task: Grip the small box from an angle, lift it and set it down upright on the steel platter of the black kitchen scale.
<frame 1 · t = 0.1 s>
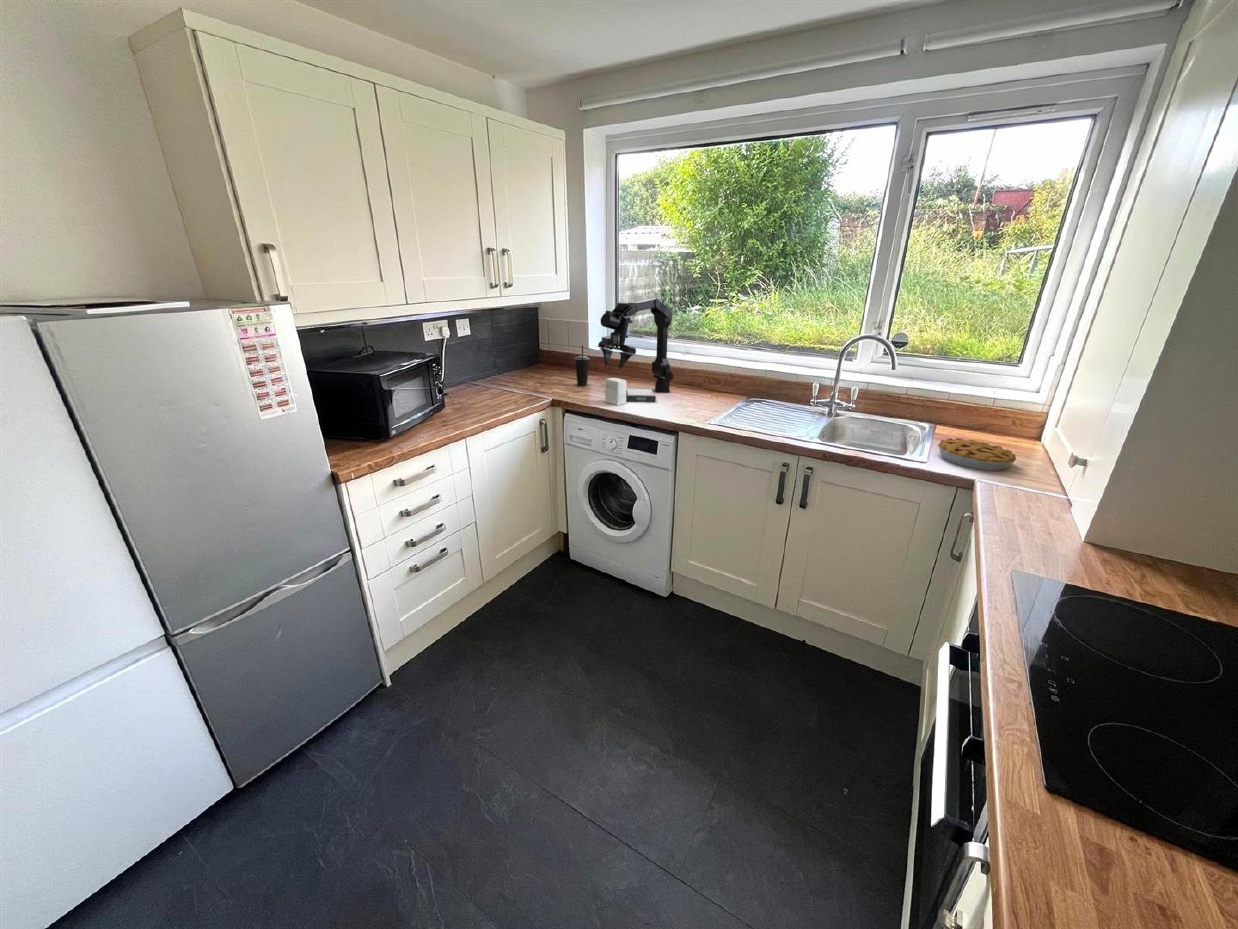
hand: (612, 367, 220), 15 cm above the countertop, tool pointing down, fingers open, 9 cm apart
kitchen scale: (639, 398, 233), on the countertop
drinking cup: (582, 385, 255), on the countertop
pie: (972, 460, 167), on the countertop
small box: (615, 403, 223), on the countertop
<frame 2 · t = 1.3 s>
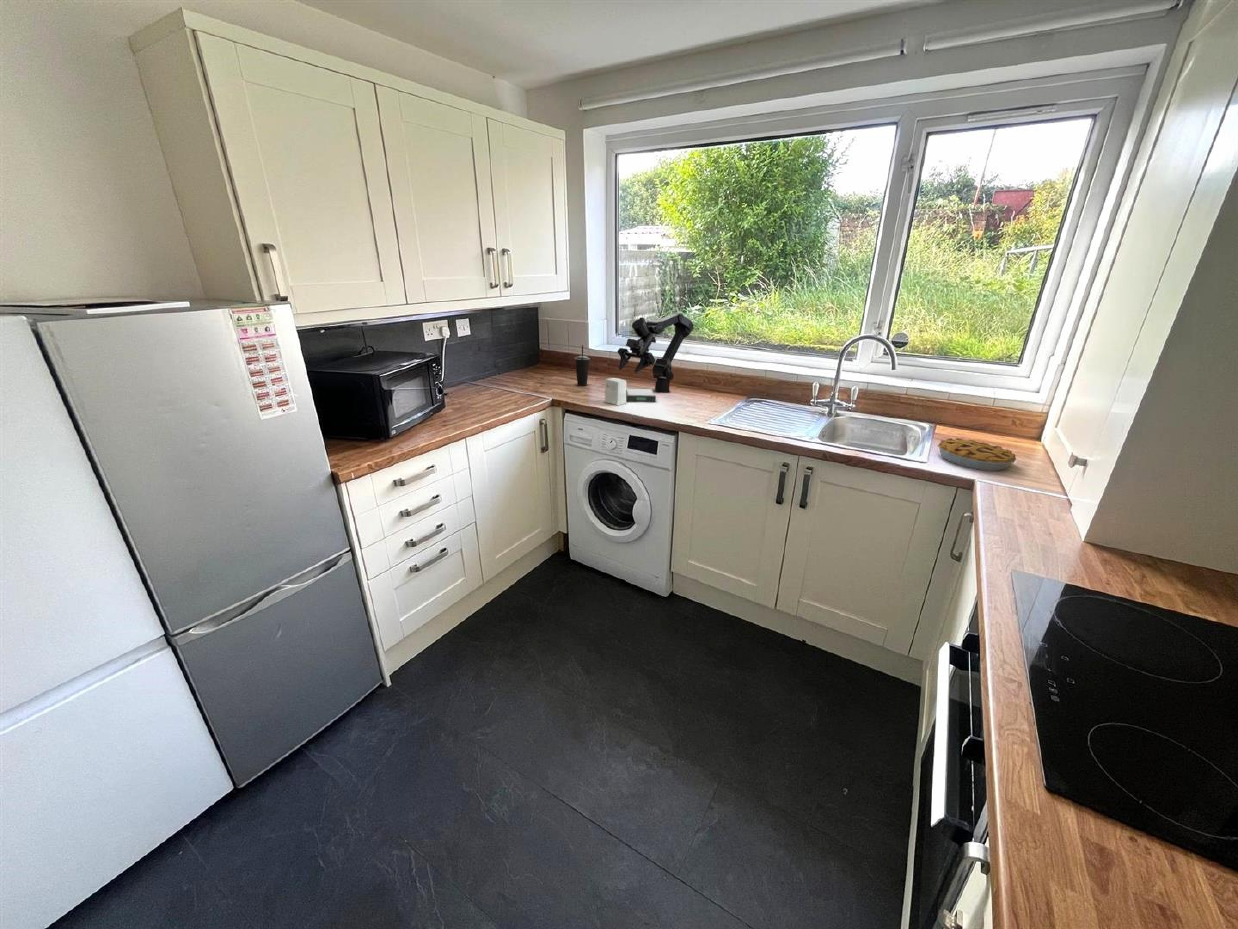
hand: (627, 370, 224), 13 cm above the countertop, tool tilted 45°, fingers open, 9 cm apart
nothing on the countertop moved.
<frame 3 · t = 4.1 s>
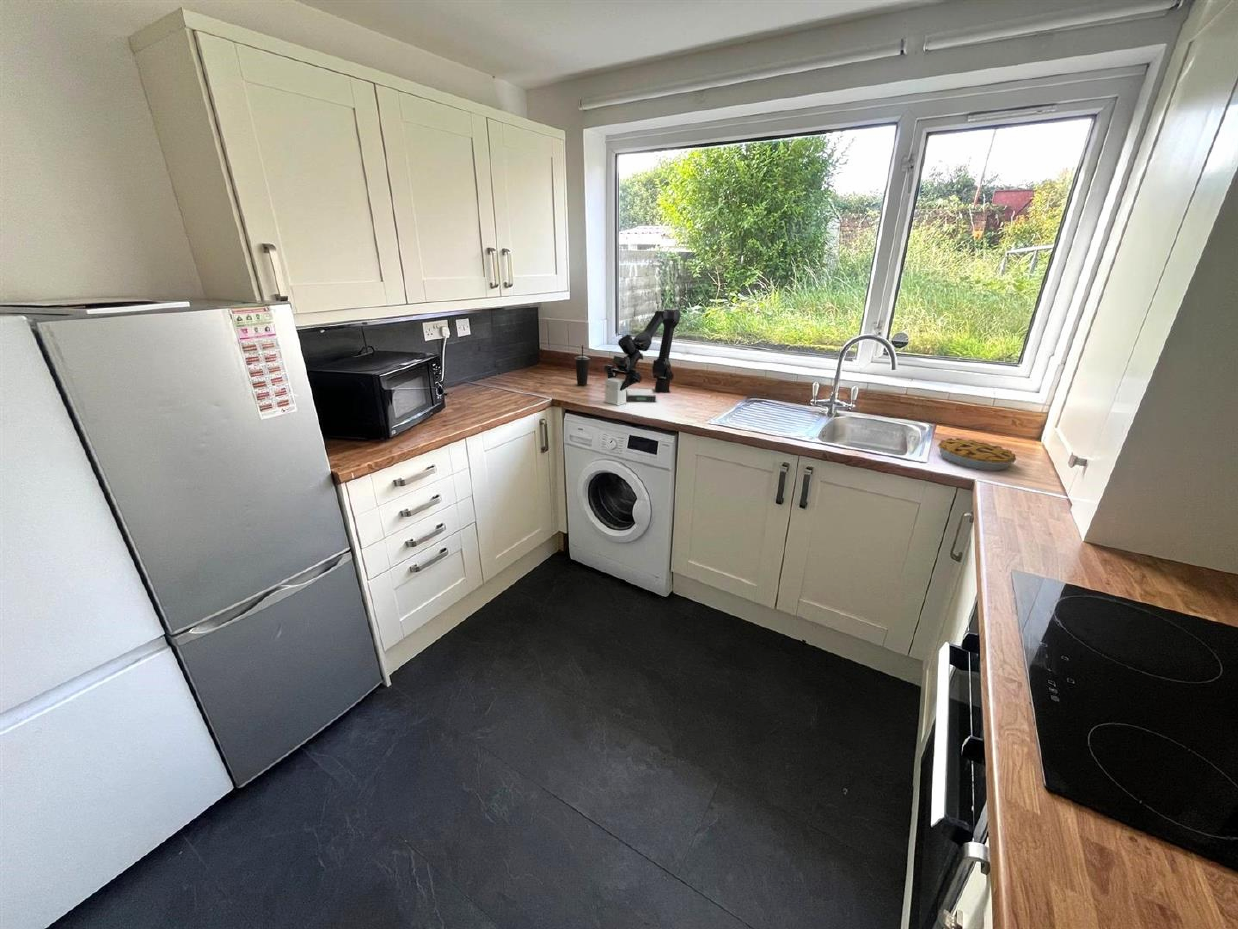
hand: (613, 388, 220), 7 cm above the countertop, tool tilted 45°, fingers closed on small box, 8 cm apart
small box: (615, 403, 223), on the countertop, touching gripper
everything else where it was.
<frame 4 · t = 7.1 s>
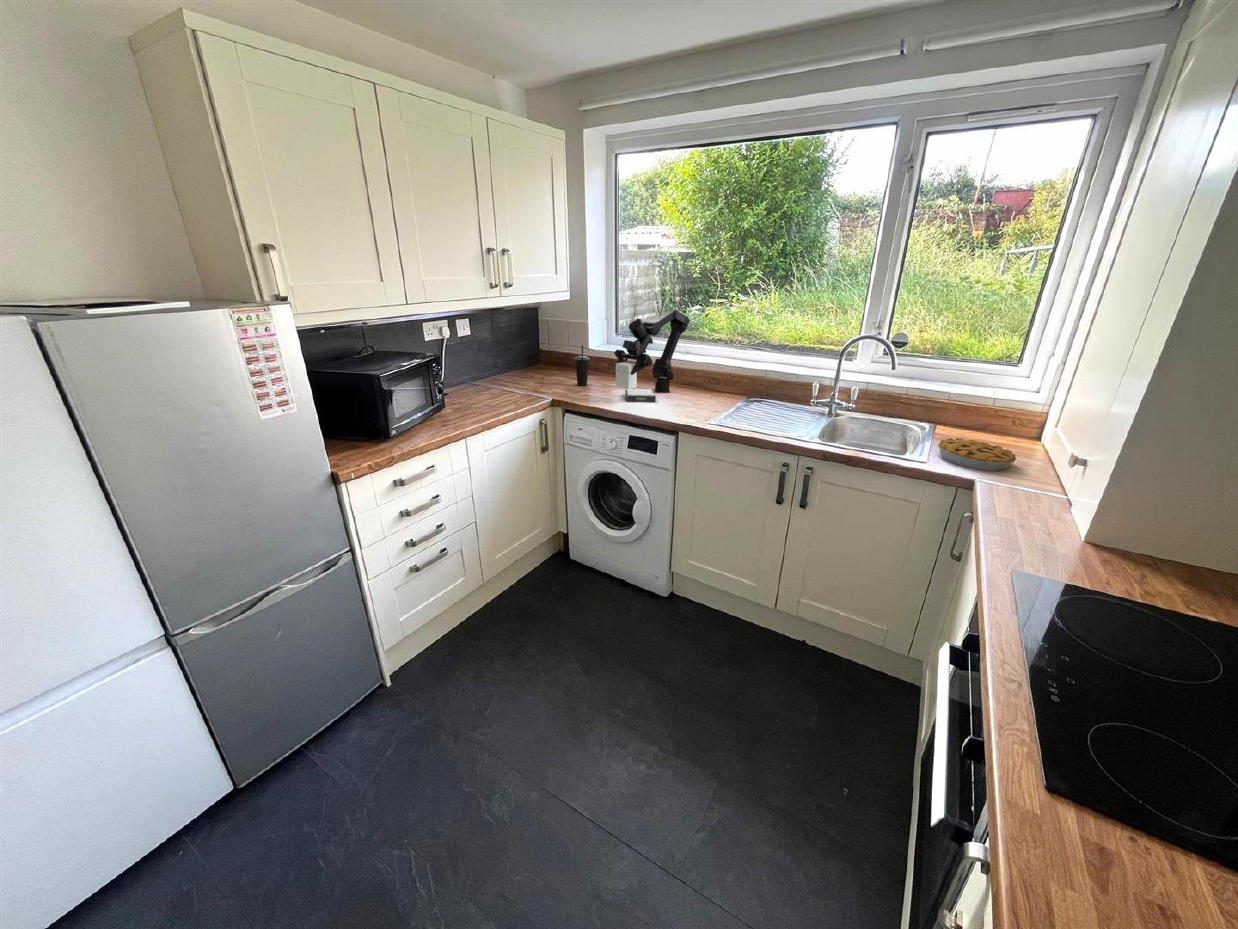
hand: (624, 372, 221), 13 cm above the countertop, tool tilted 45°, fingers closed on small box, 8 cm apart
small box: (625, 387, 225), point 6 cm above the countertop, touching gripper
everything else where it was.
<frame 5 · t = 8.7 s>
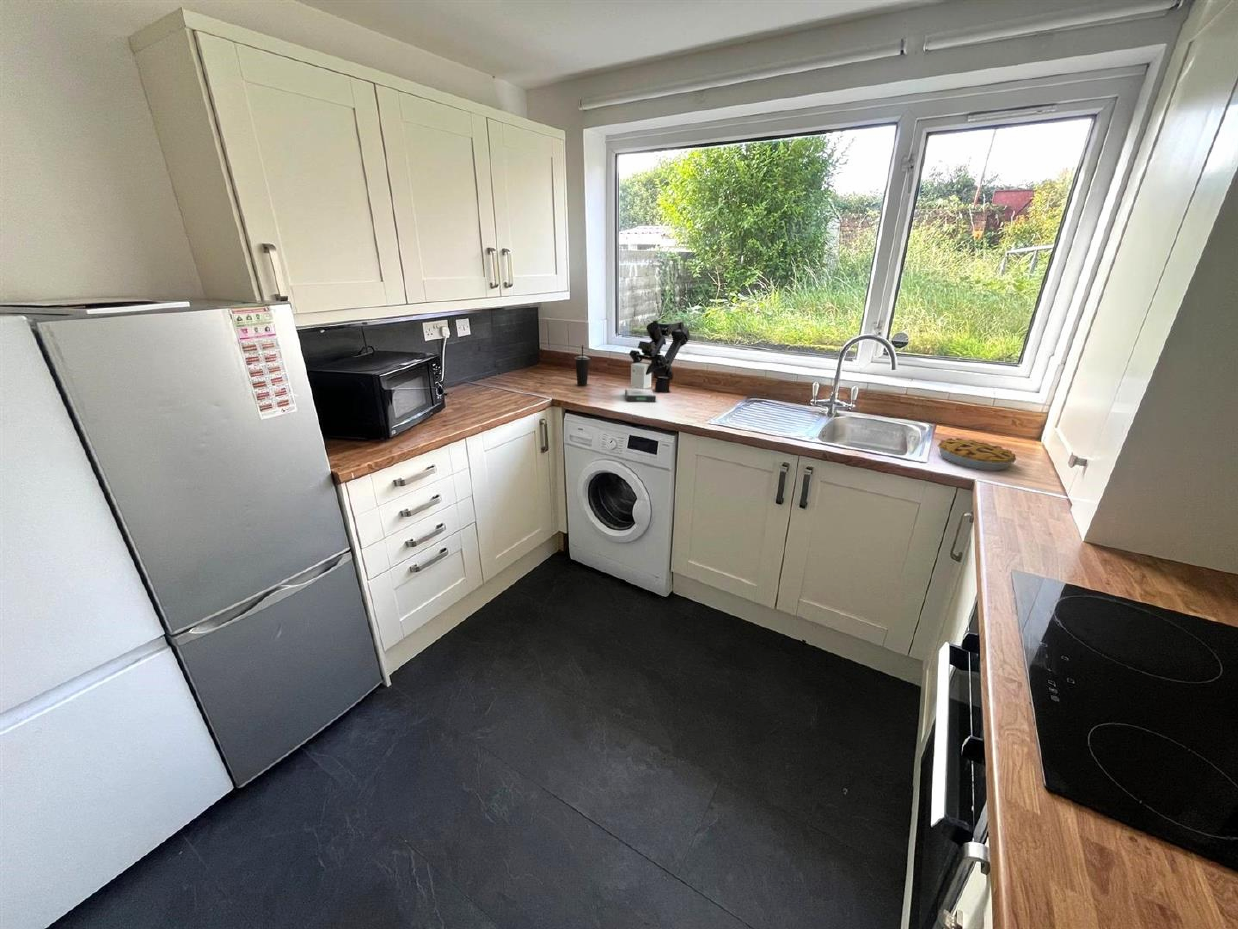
hand: (639, 372, 227), 12 cm above the countertop, tool tilted 45°, fingers closed on small box, 8 cm apart
small box: (640, 387, 231), point 5 cm above the countertop, touching gripper
everything else where it was.
when the fingers open (10 cm above the countertop, at t = 10.1 s): small box stays where it is, resting on kitchen scale.
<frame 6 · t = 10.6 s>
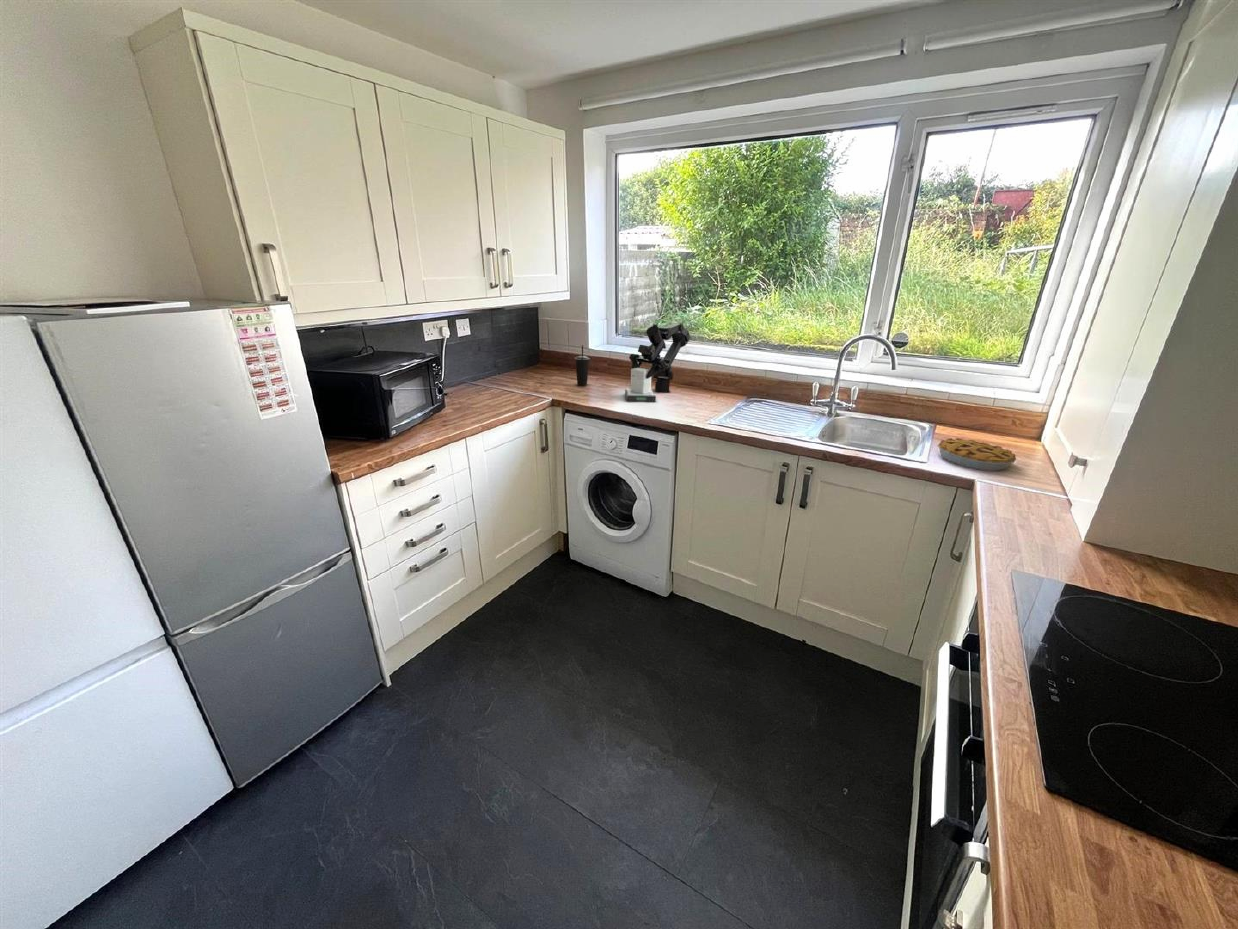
hand: (638, 376, 228), 10 cm above the countertop, tool tilted 45°, fingers open, 9 cm apart
small box: (640, 392, 232), point 3 cm above the countertop, touching kitchen scale
everything else where it was.
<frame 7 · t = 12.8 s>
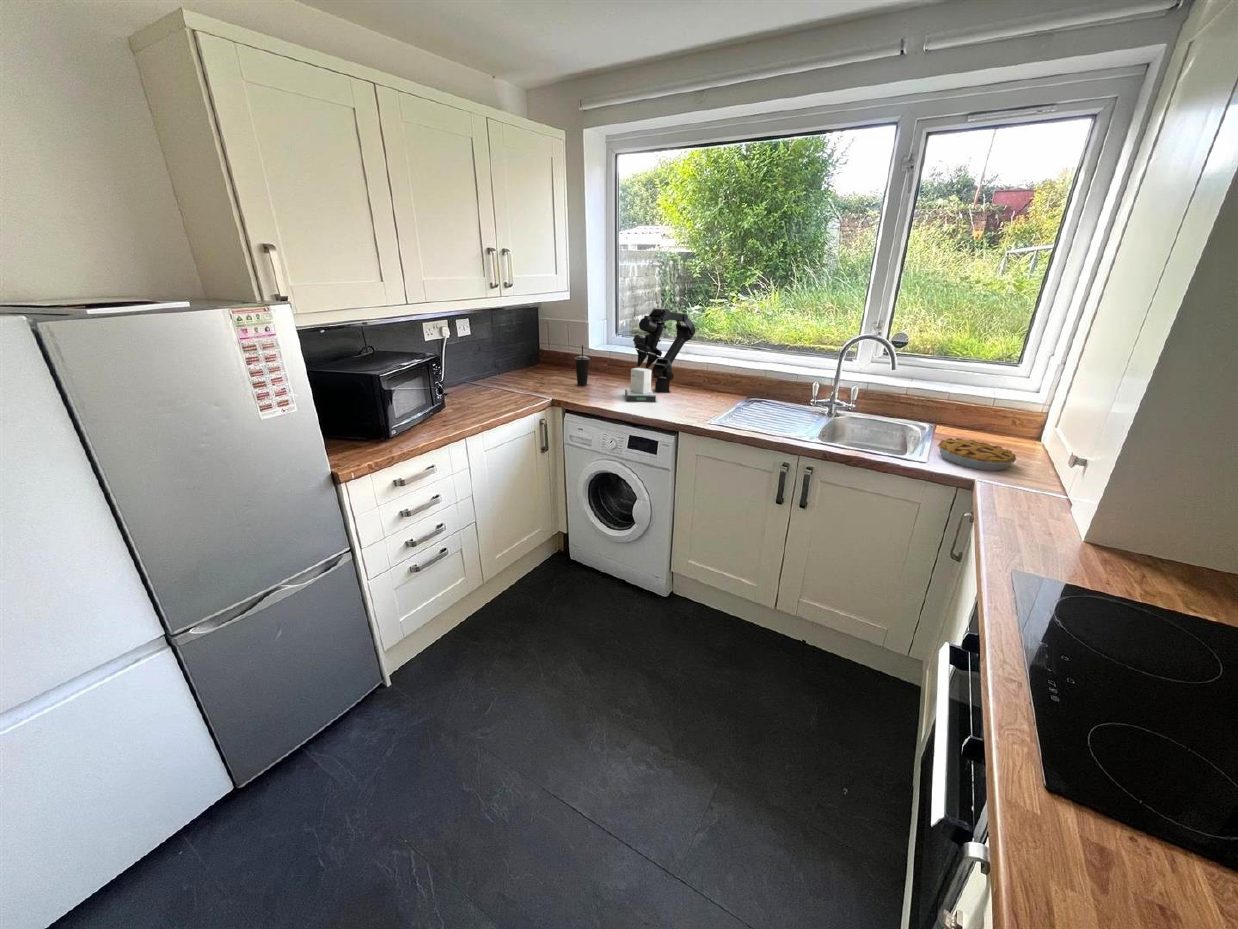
hand: (642, 367, 236), 13 cm above the countertop, tool tilted 20°, fingers open, 9 cm apart
nothing on the countertop moved.
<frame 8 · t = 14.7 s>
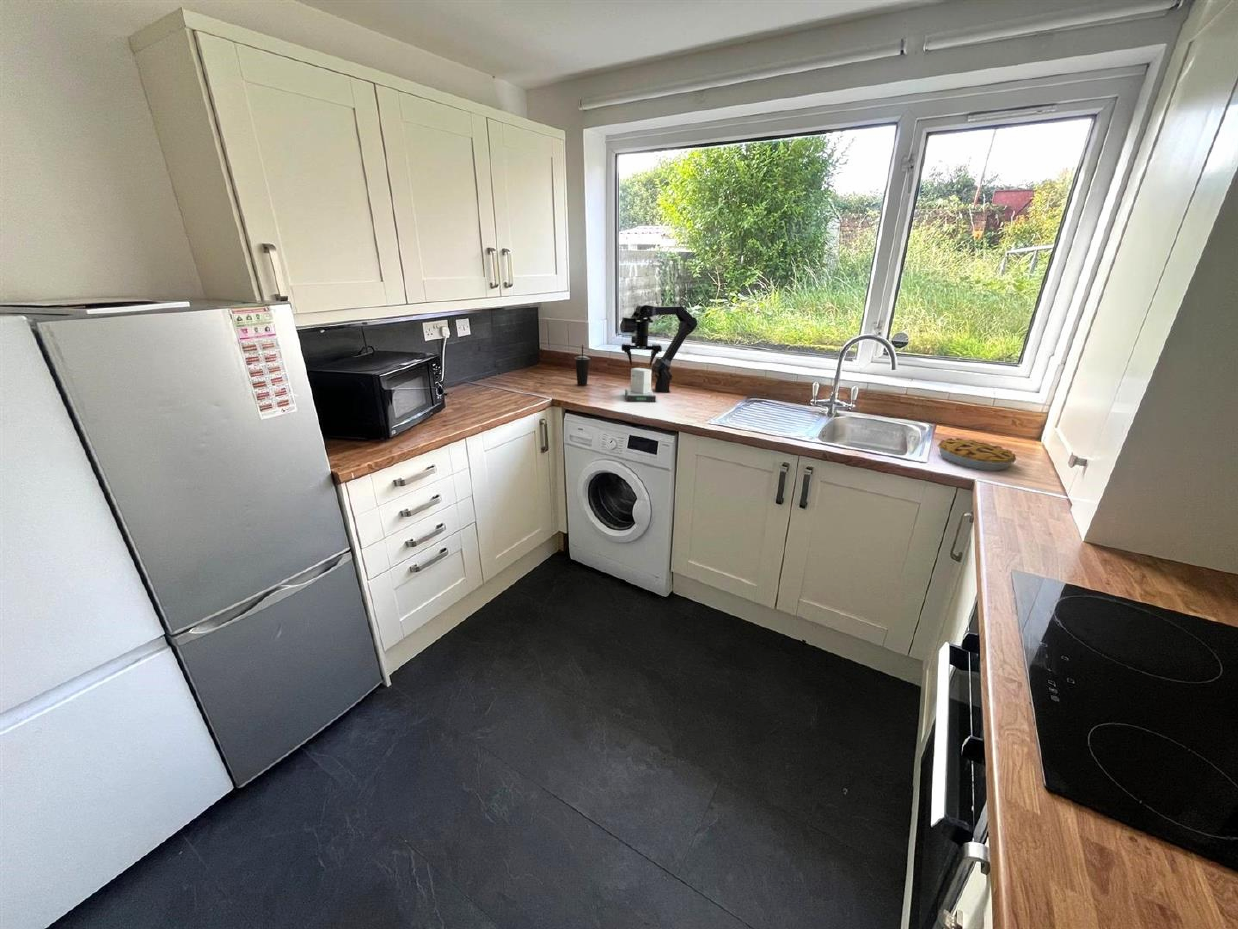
hand: (640, 365, 239), 13 cm above the countertop, tool pointing down, fingers open, 9 cm apart
nothing on the countertop moved.
at the end: small box inside the target area on the kitchen scale (0.2 cm from its centre), point 2.9 cm above the kitchen scale's base; small box tilted 0°; the gripper is holding nothing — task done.
